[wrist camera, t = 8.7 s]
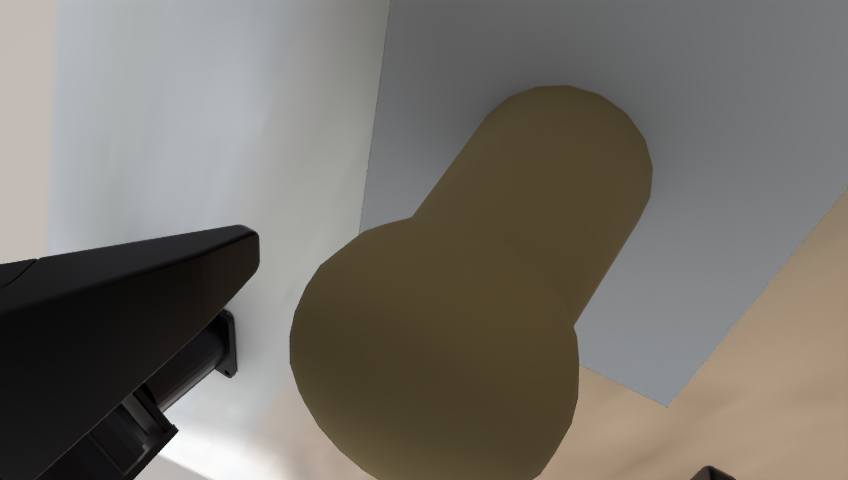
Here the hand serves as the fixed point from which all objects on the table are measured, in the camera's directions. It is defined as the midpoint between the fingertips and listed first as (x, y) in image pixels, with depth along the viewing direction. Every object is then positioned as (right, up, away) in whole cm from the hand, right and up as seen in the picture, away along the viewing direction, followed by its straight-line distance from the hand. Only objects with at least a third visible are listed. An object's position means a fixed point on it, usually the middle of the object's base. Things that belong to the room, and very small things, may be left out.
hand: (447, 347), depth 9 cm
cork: (+4, +4, +7) cm, 9 cm away
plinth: (+5, +5, +9) cm, 11 cm away
